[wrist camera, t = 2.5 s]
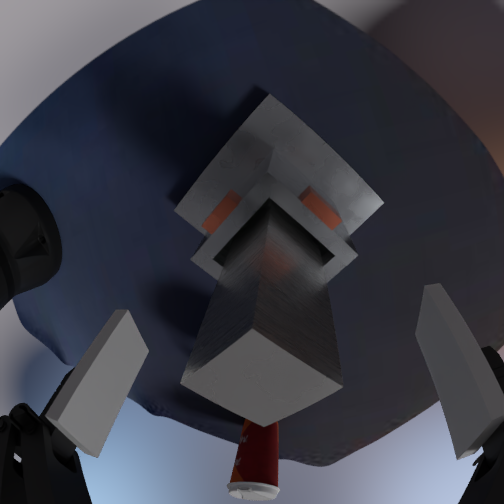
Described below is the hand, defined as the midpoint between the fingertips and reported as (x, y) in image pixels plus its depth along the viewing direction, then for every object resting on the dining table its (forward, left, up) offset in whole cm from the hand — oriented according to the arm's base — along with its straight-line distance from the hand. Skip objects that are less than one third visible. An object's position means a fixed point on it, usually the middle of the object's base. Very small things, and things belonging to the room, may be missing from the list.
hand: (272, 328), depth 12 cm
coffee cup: (+25, -31, -18) cm, 44 cm away
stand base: (0, 0, -18) cm, 18 cm away
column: (0, 0, -16) cm, 16 cm away
